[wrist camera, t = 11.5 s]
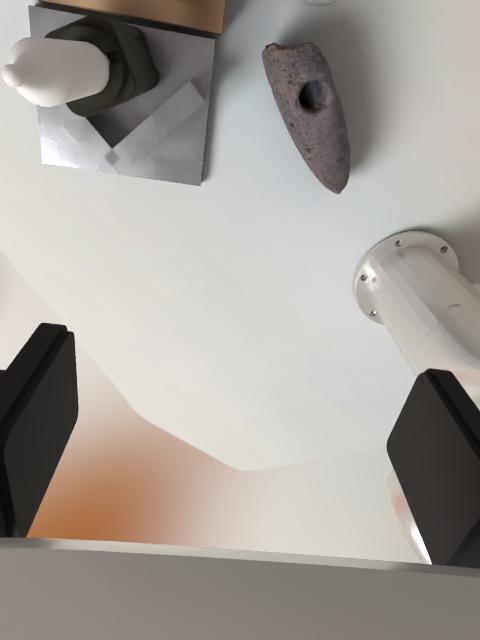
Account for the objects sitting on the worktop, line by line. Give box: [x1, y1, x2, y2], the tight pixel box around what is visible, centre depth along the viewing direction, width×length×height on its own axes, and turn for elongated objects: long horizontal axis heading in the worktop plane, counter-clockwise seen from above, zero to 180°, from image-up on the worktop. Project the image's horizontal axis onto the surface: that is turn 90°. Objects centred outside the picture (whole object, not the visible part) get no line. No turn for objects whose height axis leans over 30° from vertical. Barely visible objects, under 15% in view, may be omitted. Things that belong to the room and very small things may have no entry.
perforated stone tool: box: [262, 43, 350, 194], centre depth 40 cm, size 15×5×7 cm, turn 25°
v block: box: [28, 5, 216, 186], centre depth 39 cm, size 16×13×6 cm
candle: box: [2, 14, 159, 117], centre depth 28 cm, size 5×5×25 cm
